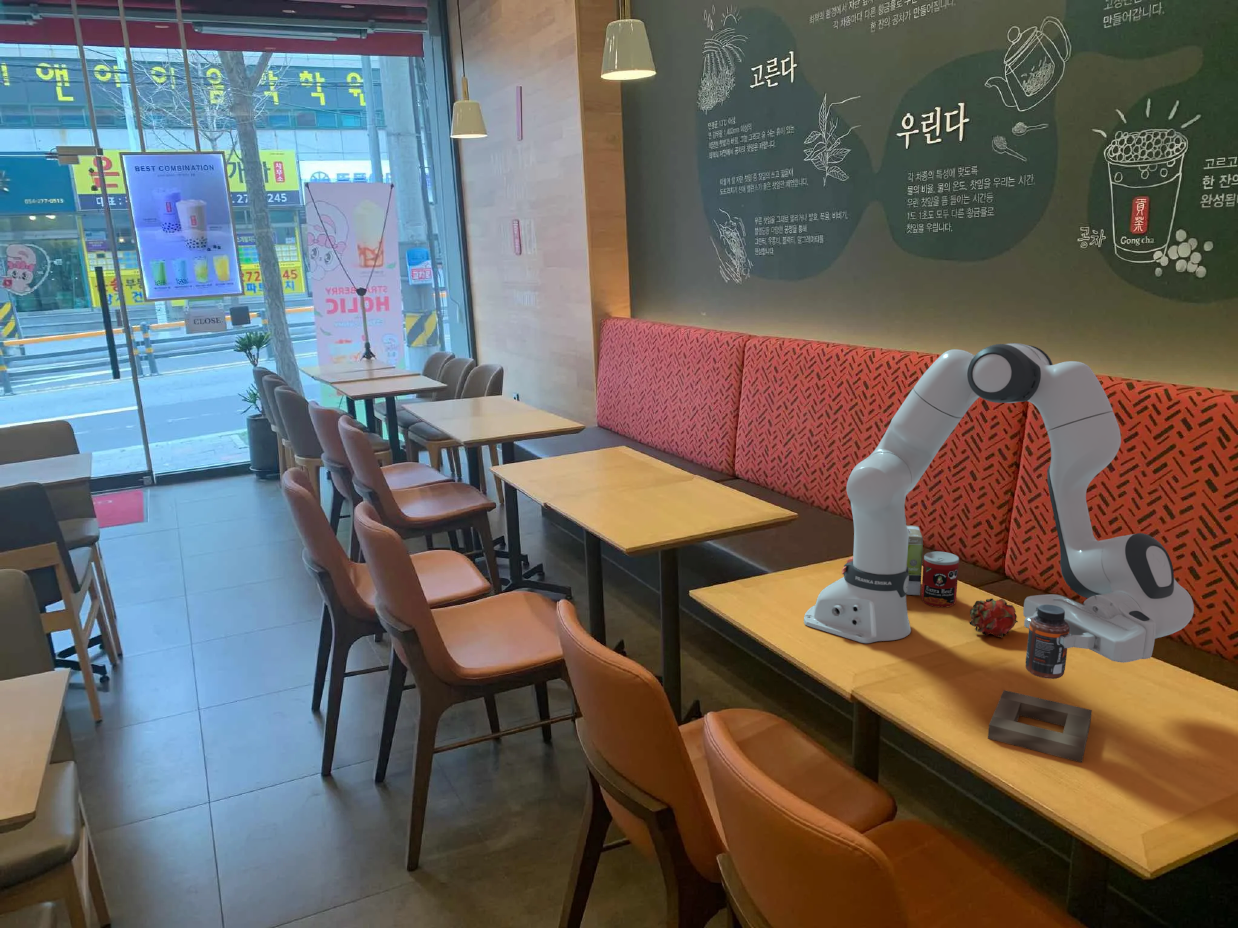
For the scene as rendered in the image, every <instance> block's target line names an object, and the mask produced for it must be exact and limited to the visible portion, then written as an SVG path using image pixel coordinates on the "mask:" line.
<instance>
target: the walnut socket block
mask: <svg viewBox="0 0 1238 928" xmlns="http://www.w3.org/2000/svg"><path fill="white" fill-rule="evenodd" d="M1092 712H1093V710H1092V709H1089V708H1085V707H1080V706H1075V705H1072V704H1071V705H1070V704H1067V703H1062V702H1058V701H1054V700H1049V699H1046V698H1045V699H1044V698H1040V697H1035V696H1031V695H1027V694H1023V693H1018V692H1016V691H1015V692H1014V691H1009V690H1005V689H1003V691H1002V694H1001V695H1000V697H999V700H998V702H997V704H996V707H995V710H994V712H993V714H992V716H991V719H990V722H989V724H988V731H987V732H988V733H987V739H990V740H993V741H996V742H1001V743H1005V744H1009V745H1013V746H1016V747H1019V748H1024V749H1028V750H1032V751H1035V752H1039V753H1044V754H1047V755H1051V756H1055V757H1059V758H1062V759H1066V760H1070V761H1074V762H1078V763H1081V764H1082V763H1083V760H1084V754H1085V749H1086V746H1087V740H1088V735H1089V730H1090V726H1091V719H1092ZM1020 717H1024V718H1025V717H1026V718H1030V719H1034V720H1035V721H1036V720H1037V721H1041V722H1045V723H1048V724H1049V723H1050V724H1053V725H1057V726H1062V727H1064V728H1063V731H1062V732H1058V731H1055V730H1051V729H1047V728H1042V727H1038V726H1034V725H1031V724H1027V723H1023V722H1018V721H1019V718H1020Z"/></svg>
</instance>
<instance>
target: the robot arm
mask: <svg viewBox="0 0 1238 928" xmlns="http://www.w3.org/2000/svg"><path fill="white" fill-rule="evenodd" d="M979 398H981V399H982V400H985V401H987V402H991V403H995V404H1003V403H1004V404H1014V403H1019V402H1021V403H1024V402H1028V403H1031V404H1033V405H1034V406H1035V407H1036V408H1037V410H1038V412H1039V414H1040V416H1041V418H1042V421H1043V423H1044V427H1045V430H1046V432H1047V436H1048V439H1049V444H1050V445H1049V446H1050V463H1049V465H1048V468H1047V472H1046V476H1047V477H1046V478H1047V485H1048V492H1049V494H1048V495H1049V498H1050V503H1051V507H1052V513H1053V517H1054V523H1055V527H1056V533H1057V537H1058V542H1059V550H1060V553H1059V555H1060V557H1059V558H1060V573H1061V575H1062V578H1063V580H1064V582H1065V583H1066V584H1067V586H1068V587H1069V588H1070V589H1071V590H1072V591H1073V592H1074V593H1075V594H1077V596H1080V597H1082V598H1084V599H1085V598H1087V599H1085V600H1084V602H1083V603H1080V602H1078V601H1076V600H1073V599H1071V598H1069V597H1067V596H1063V595H1061V594H1055V593H1053V594H1049V593H1048V594H1038V595H1037V594H1036V595H1030V596H1026V598H1025V599H1024V601H1023V610H1022V611H1023V612H1022V613H1023V617H1025V618H1024V620H1023V621H1024V623H1023V627H1025V628H1027V629H1028V630H1029V625H1030V621H1031V619H1032V618H1033V617H1035V616H1037V611H1038V607H1039V606H1040V605H1055V606H1058V607H1061V608H1063V609H1064V610H1065V618H1064V620H1065V622H1067V623H1068V625H1069V627H1070V629H1069V634H1068V633H1067V634H1062V635H1060V636H1059V644H1060V645H1062V646H1063V647H1065V648H1067V649H1071V648H1077V649H1078V648H1079V649H1083V650H1084V649H1087V650H1089V651H1090V650H1091V651H1092V652H1094V653H1097V654H1098V655H1100V656H1102V657H1104V658H1105V659H1108V660H1110V661H1112V662H1115V663H1123V664H1124V663H1129V662H1135V661H1138V660H1148V659H1151V657H1152V655H1153V651H1154V646H1155V640H1156V639H1158V638H1159V639H1160V638H1162V637H1166V636H1169V635H1173V634H1174V633H1177V632H1179V631H1181V630H1182V629H1184V628H1185V627H1186V626H1187V625H1188V624H1190V621H1192V618H1193V616H1194V612H1195V608H1194V607H1195V605H1194V600H1193V599H1192V596H1191V595H1190V594H1189V592H1188V591H1187V590H1186V589H1185V588H1184V587H1183V586H1181V585H1180V584H1179V583H1178V582H1177V580H1176V578H1175V573H1174V567H1173V563H1172V559H1171V557H1170V555H1169V553H1168V551H1167V550H1166V548H1165V547H1164V546H1163V544H1161V542H1160V541H1158V540H1157V539H1156V538H1154V537H1153V536H1151V535H1150V534H1147V533H1141V532H1138V533H1133V534H1127V535H1121V536H1115V537H1112V538H1107V539H1101V540H1098V539H1096V537H1095V535H1094V531H1093V527H1092V523H1091V518H1090V512H1089V508H1088V504H1087V503H1088V502H1087V489H1088V487H1089V486H1090V484H1091V482H1092V481H1093V479H1095V477H1096V476H1097V475H1098V474H1099V473H1100V472H1102V471H1104V469H1106V467H1108V466H1109V465H1110V463H1111V462H1112V461H1113V460H1114V459H1115V457H1116V456H1117V454H1118V452H1119V450H1120V448H1121V444H1122V436H1121V429H1120V426H1119V422H1118V420H1117V418H1116V416H1115V413H1114V410H1113V407H1112V404H1111V402H1110V400H1109V398H1108V395H1107V394H1106V392H1105V390H1104V388H1103V386H1102V384H1101V382H1100V381H1099V379H1098V377H1097V376H1096V374H1095V373H1094V371H1093V370H1092V368H1091V367H1090V366H1089V365H1088V364H1086V363H1084V362H1081V361H1075V360H1070V361H1069V360H1067V361H1063V362H1059V363H1055V364H1053V361H1052V360H1051V358H1050V356H1049V355H1048V354H1047V353H1046V352H1045V351H1044V350H1042V349H1040V348H1039V347H1038V346H1035V345H1028V344H1024V343H1017V342H1016V343H1014V342H1008V343H996V344H993V345H992V344H991V345H988V346H986V347H984V348H982V349H981V350H979V351H978V352H977V353H976V354H973V353H972V352H969V351H967V350H963V349H950V350H949V349H948V350H946V351H944V352H943V353H942V354H940V356H938V358H936V359H935V361H933V363H932V364H931V365H930V366H929V367H928V368H927V370H925V372H923V374H922V375H921V377H920V378H919V379H918V381H917V382H916V383H915V384H914V386H913V388H912V389H911V390H910V392H909V393H908V395H907V396H906V398H905V400H903V402H902V404H901V405H900V407H899V408H898V410H897V411H896V412H895V414H894V415H893V417H892V418H891V421H890V423H889V425H888V427H887V429H886V431H885V433H884V434H883V436H882V438H881V440H880V441H879V443H878V445H877V446H876V447H875V449H874V450H873V451H872V453H871V454H870V455H868V457H866V458H865V459H863V460H862V461H860V462H858V463H857V464H856V465H855V466H854V467H853V469H852V471H851V472H850V474H849V476H848V478H847V482H846V493H847V497H848V499H849V501H850V507H851V513H852V519H853V533H854V535H853V553H852V554H853V555H852V556H851V557H849V558H848V559H847V560H846V562H845V564H844V565H843V567H842V569H841V575H843V577H841V578H839V579H837V580H835V581H833V582H832V583H831V584H829V585H827V586H826V587H824V588H823V589H822V590H821V591H820V592H819V594H818V596H817V598H816V603H815V604H814V605H813V606H811V607H809V609H807V610H806V612H805V614H804V617H803V623H804V625H805V626H808V627H810V628H813V629H816V630H820V631H823V632H827V633H829V634H833V635H836V636H839V637H841V638H842V637H843V638H846V639H849V640H852V641H854V642H855V641H856V642H858V643H862V644H871V643H876V642H882V641H883V642H884V641H895V640H901V639H903V638H905V637H907V636H908V635H910V634H911V632H912V628H911V625H910V621H909V616H908V615H909V614H908V606H907V605H908V604H907V591H908V584H909V576H908V574H909V569H908V567H907V555H908V539H909V532H908V529H907V526H908V525H907V521H906V511H905V502H906V497H907V495H908V494H909V493H910V492H911V491H913V489H914V488H915V487H916V485H917V484H918V483H919V481H920V479H921V478H922V477H923V475H924V474H925V472H926V471H927V469H928V468H929V466H930V465H931V463H932V462H933V460H934V458H935V457H936V455H937V454H938V452H939V451H940V449H941V448H942V446H943V445H944V444H945V442H946V441H947V439H948V438H949V437H950V435H951V434H952V433H953V431H954V430H955V428H956V427H957V426H958V424H959V423H960V421H961V420H962V419H963V417H964V416H965V415H966V413H967V412H968V410H969V409H970V408H971V406H972V405H973V404H974V403H975V402H976V401H977V400H978V399H979ZM906 525H907V526H906Z"/></svg>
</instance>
